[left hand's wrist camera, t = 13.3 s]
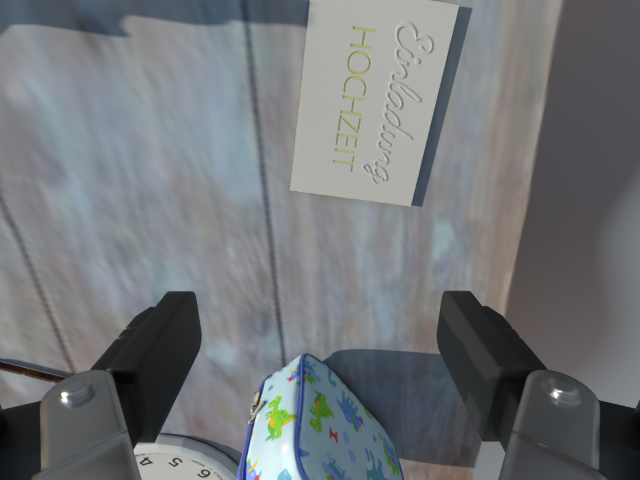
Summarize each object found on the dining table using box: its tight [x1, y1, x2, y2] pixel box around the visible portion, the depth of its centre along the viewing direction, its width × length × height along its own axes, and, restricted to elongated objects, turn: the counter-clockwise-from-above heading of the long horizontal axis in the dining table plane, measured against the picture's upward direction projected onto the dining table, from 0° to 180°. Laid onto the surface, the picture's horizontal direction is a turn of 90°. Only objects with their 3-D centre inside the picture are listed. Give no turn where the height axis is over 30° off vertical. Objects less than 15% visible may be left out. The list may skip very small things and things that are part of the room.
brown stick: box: [0, 362, 66, 383], centre depth 52 cm, size 15×1×1 cm, turn 71°
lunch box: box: [237, 354, 404, 480], centre depth 46 cm, size 26×11×21 cm, turn 37°
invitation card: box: [290, 0, 459, 206], centre depth 39 cm, size 21×1×15 cm
